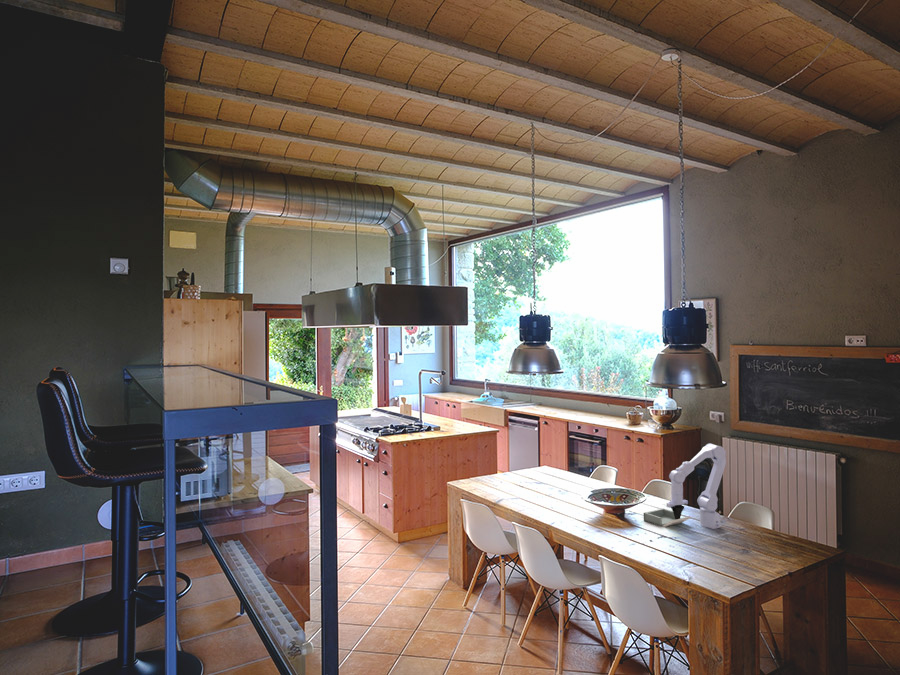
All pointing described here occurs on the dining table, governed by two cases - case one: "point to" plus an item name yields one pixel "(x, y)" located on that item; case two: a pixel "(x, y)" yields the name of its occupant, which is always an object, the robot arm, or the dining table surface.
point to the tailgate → (677, 521)
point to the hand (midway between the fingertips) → (677, 519)
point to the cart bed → (659, 517)
